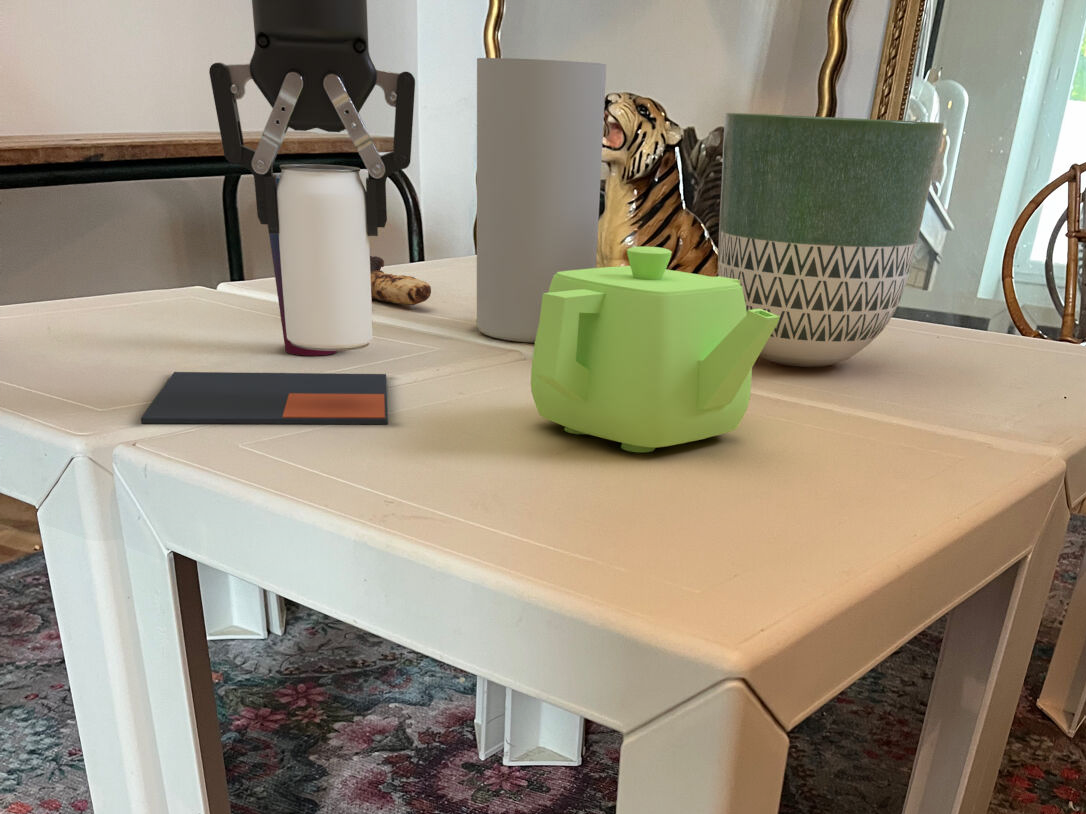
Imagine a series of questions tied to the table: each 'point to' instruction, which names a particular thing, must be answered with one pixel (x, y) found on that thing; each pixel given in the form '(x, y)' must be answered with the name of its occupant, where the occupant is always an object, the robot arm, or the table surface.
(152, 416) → the mat
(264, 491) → the table surface
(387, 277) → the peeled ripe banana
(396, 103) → the robot arm
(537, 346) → the teapot
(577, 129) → the cylinder vase
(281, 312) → the cup
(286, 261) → the can
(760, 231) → the planter
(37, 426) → the table surface
